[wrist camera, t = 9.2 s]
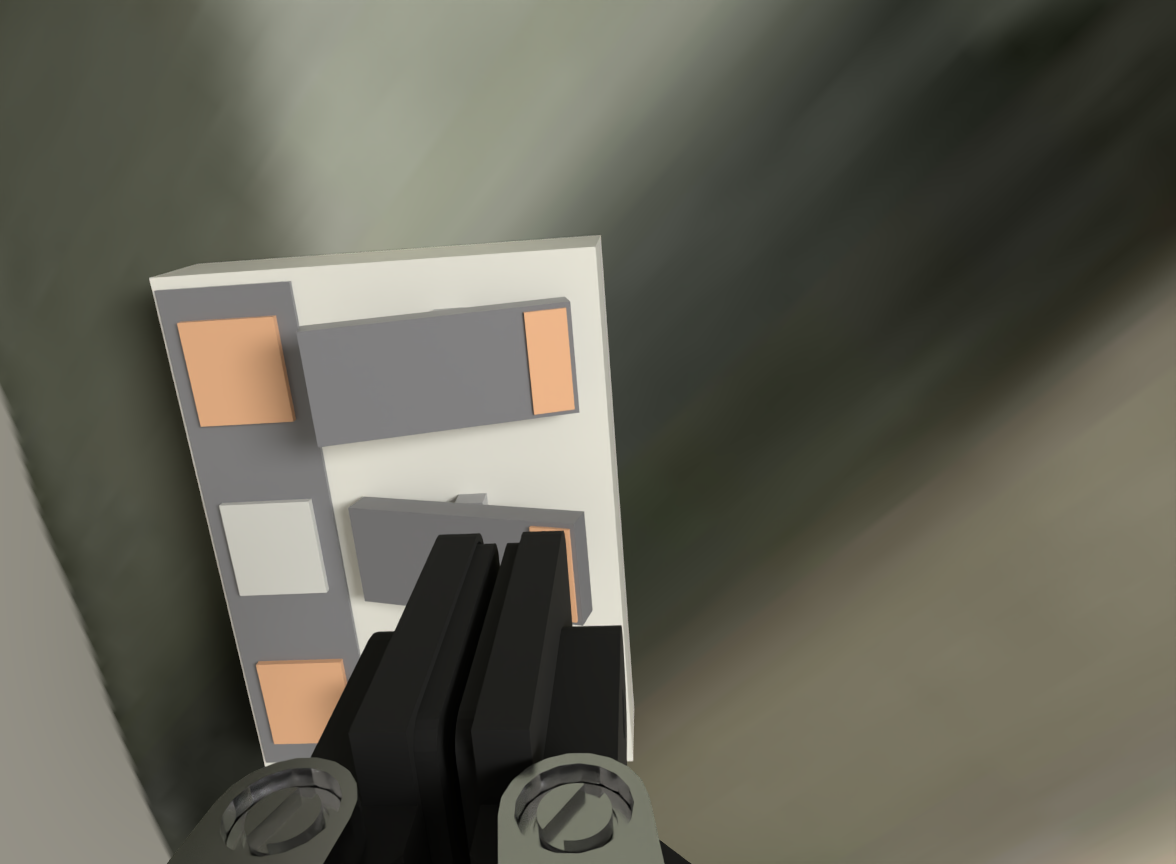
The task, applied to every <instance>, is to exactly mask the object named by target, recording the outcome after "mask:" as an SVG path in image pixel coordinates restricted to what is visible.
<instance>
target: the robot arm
mask: <svg viewBox="0 0 1176 864" xmlns="http://www.w3.org/2000/svg"><path fill="white" fill-rule="evenodd" d="M167 864H691V863H689V862H688V861H687V860H685V859H684V858H683V857H681V856H680V855H679V854H678V853H676V852H675V851H674V850H672V849H671V848H670V847H668V846H667V845H666V844H664V843H663V842H662V841H660V840H659V837H658V833H657V829H656V824H655V820H654V815H653V811H652V807H651V802H650V798H649V795H648V793H647V790H646V788H645V786H644V784H643V782H642V780H641V779H640V778H639V777H638V776H637V775H636V774H635V773H634V772H633V771H632V770H631V769H630V768H629V767H628V766H627V709H626V683H625V664H624V646H623V632H622V625H610V626H573V625H572V612H571V600H570V587H569V574H568V562H567V549H566V539H565V533H564V530H562V531H532V532H523V533H522V535H521V539H520V543H507V545H506V548H505V551H504V555H503V558H502V562H501V565H500V561H499V553H498V548H497V545H496V543H490V544H484V542H483V538H482V535H481V534H480V533H472V534H443V535H438V537H437V538H436V540H435V543H434V545H433V547H432V549H431V551H430V554H429V556H428V558H427V560H426V563H425V565H424V567H423V569H422V571H421V574H420V576H419V578H418V580H417V582H416V585H415V587H414V589H413V591H412V593H411V596H410V598H409V600H408V602H407V604H406V607H405V609H404V611H403V613H402V616H401V618H400V620H399V622H398V624H397V627H396V629H395V631H380V632H375V633H373V634H372V636H371V637H370V639H369V640H368V642H367V644H366V646H365V648H364V650H363V652H362V654H361V656H360V658H359V660H358V662H357V664H356V666H355V668H354V670H353V672H352V674H351V676H350V678H349V680H348V682H347V684H346V686H345V688H344V691H343V693H342V695H341V697H340V699H339V701H338V703H337V705H336V707H335V709H334V711H333V713H332V715H331V717H330V719H329V721H328V723H327V725H326V727H325V729H324V731H323V733H322V735H321V737H320V739H319V741H318V743H317V745H316V747H315V749H314V751H313V753H312V755H311V757H310V758H294V759H290V760H286V761H281V762H277V763H273V764H271V765H269V766H266V767H264V768H262V769H259V770H257V771H255V772H252V773H251V774H249V775H247V776H246V777H244V778H243V779H241V780H240V781H238V782H237V783H235V784H234V785H232V786H231V787H230V788H229V789H228V790H227V791H226V792H225V793H224V794H223V795H222V796H221V797H220V798H219V799H218V800H217V801H216V802H215V803H214V805H213V806H212V807H211V808H210V810H209V811H208V812H207V813H206V815H205V816H204V817H203V819H202V820H201V821H200V822H199V824H198V825H197V826H196V827H195V829H194V830H193V831H192V832H191V834H190V835H189V836H188V838H187V839H186V840H185V841H184V843H183V844H182V845H181V846H180V848H179V849H178V850H177V851H176V853H175V854H174V855H173V857H172V858H171V859H170V860H169V862H168V863H167Z"/></svg>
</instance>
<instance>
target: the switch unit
mask: <svg viewBox="0 0 1176 864" xmlns="http://www.w3.org/2000/svg"><path fill="white" fill-rule="evenodd" d="M149 279H150V284H151V288H152V292H153V296H154V300H155V305H156V309H157V313H158V317H159V321H160V326H161V330H162V334H163V338H164V342H165V347H166V351H167V355H168V359H169V363H170V368H171V372H172V376H173V380H174V384H175V389H176V393H177V397H178V401H179V406H180V410H181V414H182V418H183V422H184V427H185V431H186V435H187V439H188V443H189V448H190V452H191V456H192V460H193V464H194V469H195V473H196V477H197V481H198V485H199V490H200V494H201V498H202V502H203V507H204V511H205V515H206V519H207V523H208V528H209V532H210V536H211V540H212V544H213V549H214V553H215V557H216V561H217V565H218V570H219V574H220V578H221V582H222V586H223V591H224V595H225V599H226V603H227V607H228V612H229V616H230V620H231V624H232V629H233V633H234V637H235V641H236V645H237V650H238V654H239V658H240V662H241V666H242V671H243V675H244V679H245V683H246V687H247V692H248V696H249V700H250V704H251V708H252V713H253V717H254V721H255V725H256V729H257V734H258V738H259V742H260V746H261V751H262V755H263V759H264V763H265V767H266V766H269V765H271V764H273V763H277V762H281V761H286V760H290V759H294V758H310V757H311V755H312V753H313V751H314V749H315V747H316V745H317V743H318V741H319V739H320V737H321V735H322V733H323V731H324V729H325V727H326V725H327V723H328V721H329V719H330V717H331V715H332V713H333V711H334V709H335V707H336V705H337V703H338V701H339V699H340V697H341V695H342V693H343V691H344V688H345V686H346V684H347V682H348V680H349V678H350V676H351V674H352V672H353V670H354V668H355V666H356V664H357V662H358V660H359V658H360V656H361V654H362V652H363V650H364V648H365V646H366V644H367V642H368V640H369V639H370V637H371V636H372V634H373V633H375V632H380V631H395V629H396V627H397V624H398V622H399V620H400V618H401V616H402V613H403V611H404V609H405V607H406V606H403V605H394V604H385V603H376V602H367V601H365V599H364V594H363V588H362V583H361V577H360V572H359V566H358V560H357V555H356V549H355V544H354V538H353V533H352V527H351V522H350V516H349V510H348V508H349V507H350V506H351V505H353V504H354V503H356V502H357V501H358V500H360V499H361V498H362V497H378V498H393V499H408V500H423V501H438V502H453V503H467V504H482V505H497V506H512V507H527V508H542V509H557V510H571V511H584V514H585V526H586V538H587V550H588V561H589V573H590V585H591V597H592V608H593V611H592V612H591V614H590V615H589V617H588V619H587V620H586V622H585V624H584V625H583V626H610V625H622V632H623V646H624V664H625V683H626V709H627V761H633V738H634V700H633V685H632V671H631V657H630V643H629V629H628V615H627V600H626V586H625V572H624V558H623V544H622V530H621V516H620V501H619V487H618V473H617V459H616V445H615V431H614V417H613V402H612V388H611V374H610V360H609V346H608V332H607V317H606V303H605V289H604V275H603V261H602V247H601V235H594V236H580V237H566V238H552V239H538V240H524V241H510V242H496V243H482V244H468V245H454V246H440V247H426V248H412V249H398V250H384V251H370V252H356V253H342V254H328V255H314V256H300V257H286V258H272V259H258V260H244V261H230V262H216V263H202V264H195V265H192V266H188V267H185V268H182V269H178V270H175V271H171V272H168V273H165V274H161V275H158V276H154V277H151V278H149ZM556 297H566V298H567V299H568V300H569V301H570V304H571V316H572V328H573V340H574V352H575V364H576V376H577V388H578V400H579V412H580V413H573V414H565V415H558V416H550V417H543V418H535V419H528V420H520V421H513V422H505V423H498V424H490V425H483V426H475V427H468V428H460V429H453V430H445V431H438V432H430V433H423V434H415V435H408V436H400V437H393V438H385V439H378V440H370V441H363V442H355V443H348V444H340V445H333V446H325V447H318V445H317V440H316V434H315V429H314V424H313V418H312V413H311V408H310V402H309V397H308V392H307V386H306V381H305V376H304V370H303V365H302V360H301V354H300V349H299V344H298V338H297V333H296V332H297V330H298V329H299V327H300V326H304V325H313V324H322V323H331V322H340V321H349V320H358V319H367V318H376V317H385V316H394V315H403V314H412V313H421V312H430V311H439V310H448V309H457V308H466V307H475V306H484V305H493V304H502V303H511V302H520V301H529V300H538V299H547V298H556ZM573 626H580V625H573Z"/></svg>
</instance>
